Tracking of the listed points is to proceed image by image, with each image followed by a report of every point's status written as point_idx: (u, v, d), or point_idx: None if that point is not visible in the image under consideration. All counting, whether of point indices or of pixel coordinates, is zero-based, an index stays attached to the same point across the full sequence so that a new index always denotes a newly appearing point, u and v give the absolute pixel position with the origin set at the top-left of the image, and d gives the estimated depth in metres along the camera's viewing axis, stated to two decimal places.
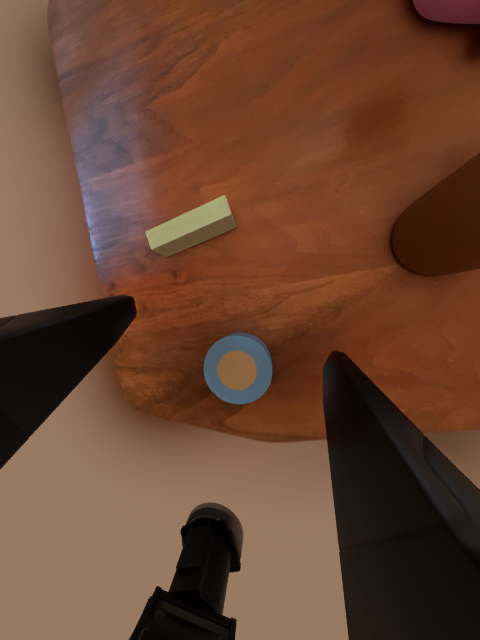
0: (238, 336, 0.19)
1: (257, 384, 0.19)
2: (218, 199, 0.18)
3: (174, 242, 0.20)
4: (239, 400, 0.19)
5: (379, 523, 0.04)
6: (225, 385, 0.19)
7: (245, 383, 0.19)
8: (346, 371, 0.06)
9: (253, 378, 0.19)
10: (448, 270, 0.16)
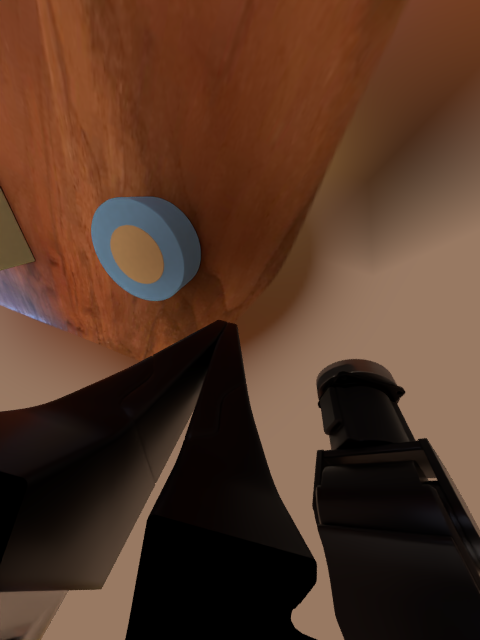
0: (92, 227, 0.13)
1: (161, 239, 0.12)
2: None
3: None
4: (177, 276, 0.13)
5: None
6: (154, 281, 0.14)
7: (156, 256, 0.13)
8: (220, 337, 0.07)
9: (151, 240, 0.12)
10: None
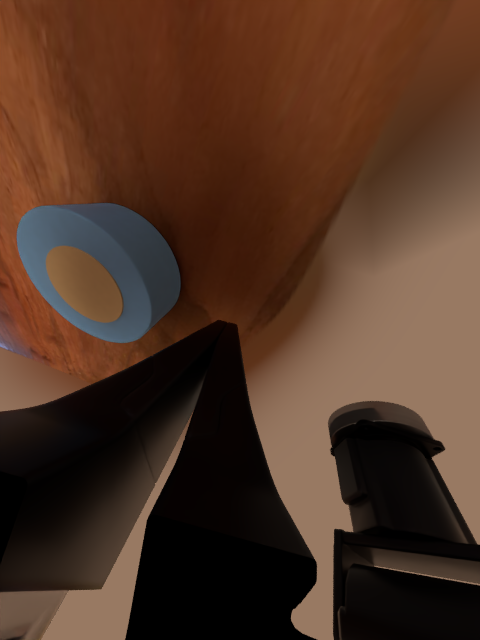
0: (19, 248, 0.09)
1: (114, 266, 0.08)
2: None
3: None
4: (143, 315, 0.10)
5: None
6: (113, 320, 0.10)
7: (111, 288, 0.09)
8: (220, 337, 0.07)
9: (100, 267, 0.08)
10: None
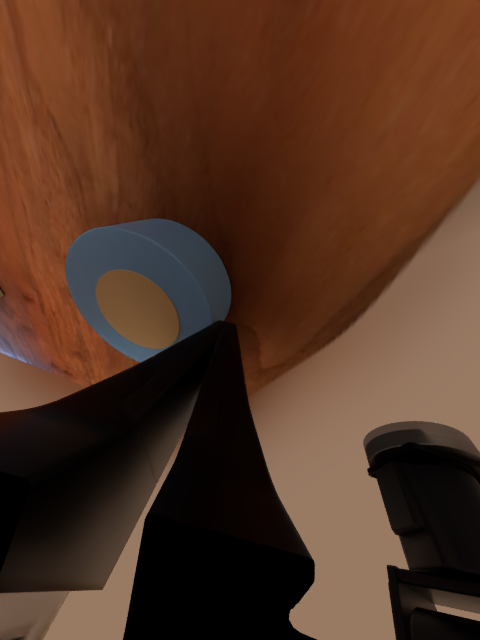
0: (67, 270, 0.08)
1: (177, 292, 0.07)
2: None
3: None
4: None
5: None
6: (163, 346, 0.09)
7: (168, 314, 0.08)
8: (219, 336, 0.07)
9: (160, 293, 0.08)
10: None
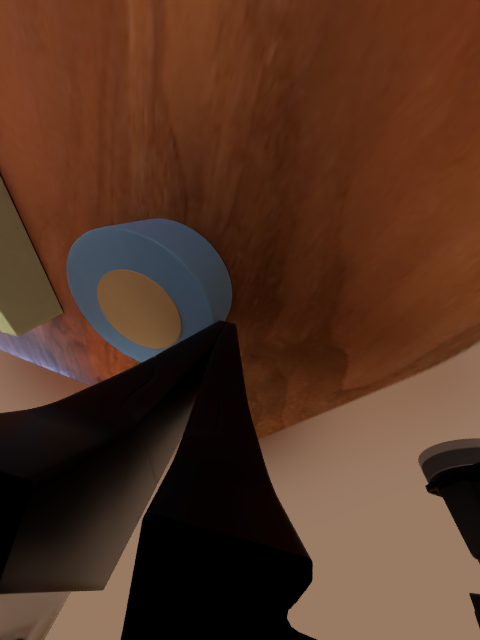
0: (68, 270, 0.08)
1: (179, 292, 0.07)
2: None
3: (5, 298, 0.11)
4: None
5: None
6: (165, 346, 0.09)
7: (170, 314, 0.08)
8: (219, 336, 0.07)
9: (162, 293, 0.08)
10: None
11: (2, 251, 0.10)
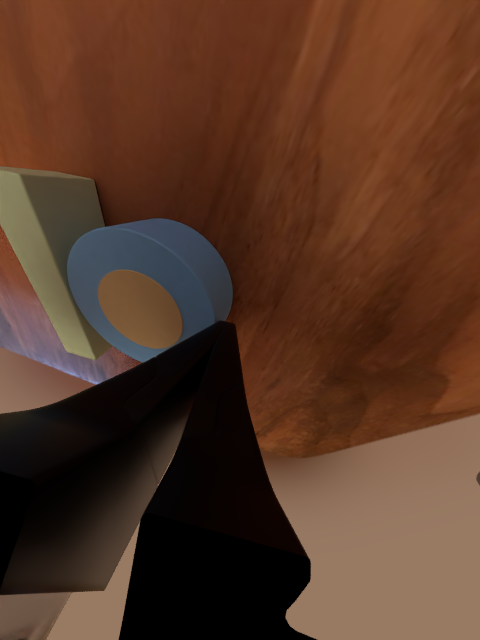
0: (69, 270, 0.08)
1: (180, 292, 0.07)
2: None
3: None
4: None
5: None
6: (166, 346, 0.09)
7: (171, 314, 0.08)
8: (218, 336, 0.07)
9: (164, 293, 0.08)
10: None
11: None
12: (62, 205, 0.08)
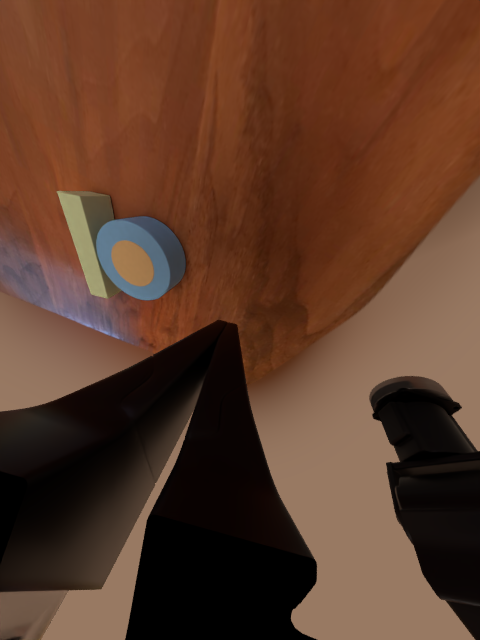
0: (97, 241, 0.16)
1: (151, 251, 0.16)
2: (62, 202, 0.15)
3: (105, 274, 0.19)
4: (165, 280, 0.17)
5: None
6: (146, 284, 0.17)
7: (148, 264, 0.16)
8: (220, 337, 0.07)
9: (143, 252, 0.16)
10: None
11: None
12: (95, 209, 0.16)
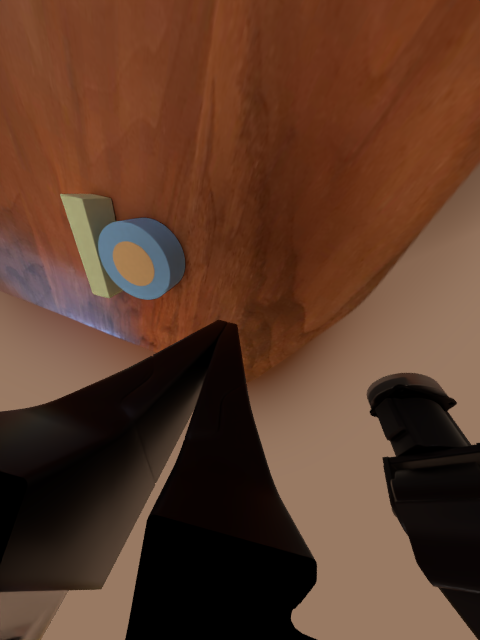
0: (99, 242, 0.17)
1: (151, 252, 0.16)
2: (64, 205, 0.15)
3: (107, 274, 0.19)
4: (165, 280, 0.17)
5: None
6: (147, 284, 0.18)
7: (148, 264, 0.17)
8: (220, 337, 0.07)
9: (144, 252, 0.16)
10: None
11: None
12: (97, 211, 0.16)
